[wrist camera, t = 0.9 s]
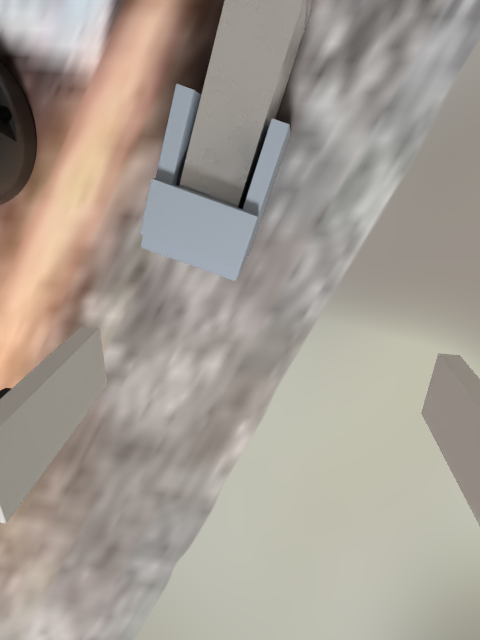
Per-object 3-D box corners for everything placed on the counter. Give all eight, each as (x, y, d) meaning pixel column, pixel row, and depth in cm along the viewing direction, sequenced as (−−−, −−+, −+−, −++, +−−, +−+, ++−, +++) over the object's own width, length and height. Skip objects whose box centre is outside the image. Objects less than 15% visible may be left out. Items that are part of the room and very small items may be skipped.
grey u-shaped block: (177, 225, 38) (136, 249, 28) (208, 103, 34) (172, 81, 24) (250, 251, 38) (234, 284, 28) (290, 133, 34) (289, 123, 24)
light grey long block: (194, 216, 37) (166, 233, 29) (255, -6, 30) (240, -68, 22) (239, 232, 37) (223, 254, 29) (310, 15, 30) (316, -40, 22)
